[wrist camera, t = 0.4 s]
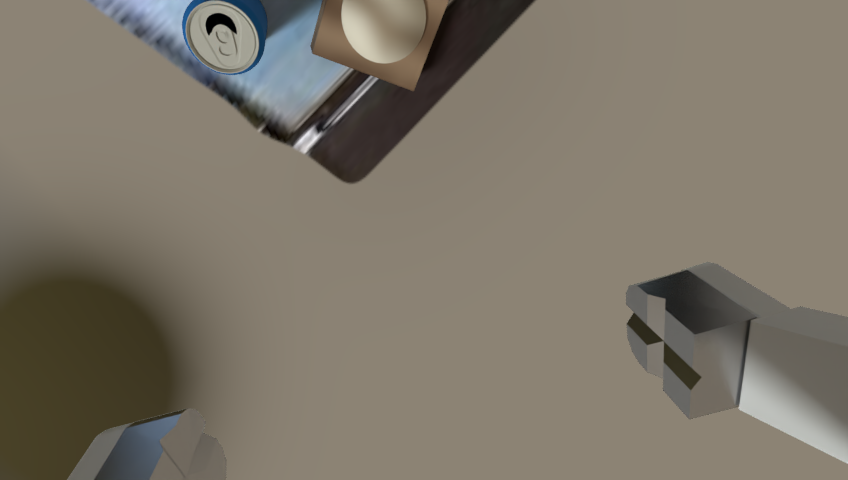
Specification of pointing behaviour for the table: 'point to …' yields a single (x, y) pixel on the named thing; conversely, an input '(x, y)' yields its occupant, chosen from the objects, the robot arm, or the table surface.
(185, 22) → the beverage can
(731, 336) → the robot arm
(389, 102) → the table surface
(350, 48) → the base block
